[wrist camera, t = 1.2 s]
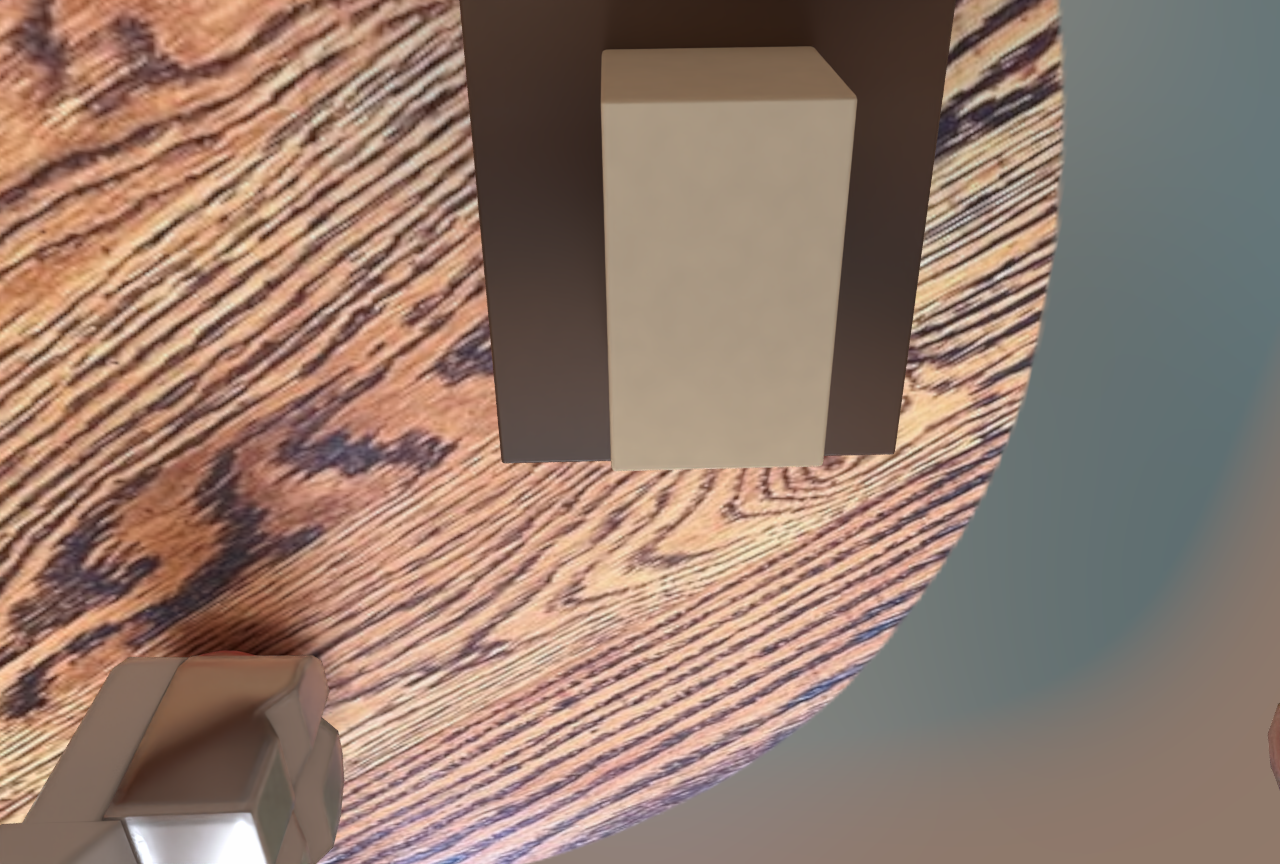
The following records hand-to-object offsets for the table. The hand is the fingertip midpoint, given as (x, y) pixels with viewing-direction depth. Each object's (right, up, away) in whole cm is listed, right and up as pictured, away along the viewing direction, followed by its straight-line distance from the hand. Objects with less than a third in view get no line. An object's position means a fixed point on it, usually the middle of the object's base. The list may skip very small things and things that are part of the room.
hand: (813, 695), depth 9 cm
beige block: (0, +6, +10) cm, 12 cm away
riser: (-1, +13, +22) cm, 26 cm away
